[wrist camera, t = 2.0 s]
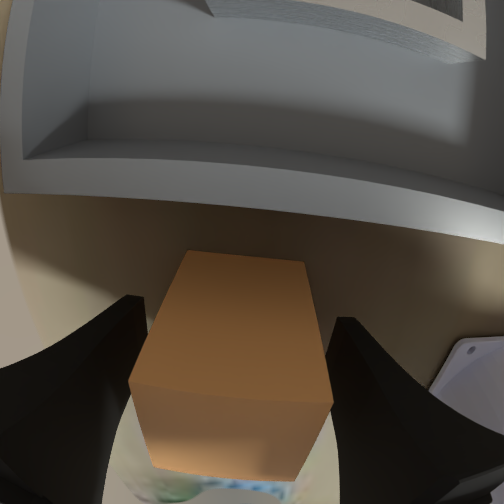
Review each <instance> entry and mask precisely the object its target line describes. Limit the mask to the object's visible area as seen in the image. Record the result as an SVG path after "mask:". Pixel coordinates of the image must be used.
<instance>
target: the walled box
mask: <svg viewBox="0 0 504 504" xmlns="http://www.w3.org/2000/svg"><path fill="white" fill-rule="evenodd" d="M412 1H414V2H417V3H420V4H422V5H425V6H428V7H429V0H412ZM485 9H486V60H481V61H471V62H462V63H453V64H447V63H444V62H442V61H439V60H437V59H434V58H431V57H429V56H426V55H423V54H420V53H417V52H414V51H411V50H408V49H405V48H402V47H399V46H396V45H392V44H389V43H385V42H382V41H378V40H375V39H371V38H367V37H363V36H359V35H355V34H350V33H346V32H341V31H336V30H331V29H326V28H320V27H315V26H309V25H302V24H295V23H288V22H279V21H270V20H259V19H245V18H224V17H214V15H213V14H212V12H211V10H210V8H209V7H208V5H207V3H206V1H205V0H13V2H12V7H11V12H10V17H9V22H8V28H7V34H6V40H5V48H4V56H3V65H2V77H1V93H0V148H1V165H2V177H3V187H4V193H21V194H57V195H82V196H102V197H120V198H137V199H152V200H166V201H179V202H191V203H203V204H215V205H226V206H236V207H246V208H256V209H266V210H275V211H284V212H293V213H302V214H310V215H319V216H327V217H335V218H342V219H350V220H357V221H365V222H372V223H379V224H386V225H393V226H400V227H406V228H413V229H419V230H426V231H432V232H438V233H444V234H450V235H456V236H462V237H467V238H473V239H479V240H484V241H489V242H495V243H500V244H504V0H485Z"/></svg>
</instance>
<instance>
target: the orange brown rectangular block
mask: <svg viewBox="0 0 504 504" xmlns="http://www.w3.org/2000/svg"><path fill="white" fill-rule="evenodd" d="M128 383H129V387H130V391H131V395H132V398H133V402H134V406H135V409H136V413H137V417H138V420H139V423H140V427H141V430H142V433H143V436H144V440H145V443H146V446H147V449H148V452H149V455H150V458H151V461H152V464H153V466H154V467H156V468H161V469H166V470H172V471H177V472H183V473H190V474H196V475H203V476H211V477H220V478H230V479H242V480H258V481H295V479H296V477H297V476H298V474H299V472H300V470H301V468H302V466H303V464H304V463H305V461H306V459H307V457H308V455H309V453H310V451H311V449H312V447H313V445H314V443H315V441H316V439H317V437H318V435H319V433H320V431H321V429H322V427H323V425H324V422H325V420H326V418H327V416H328V414H329V412H330V410H331V407H332V405H333V403H334V401H333V395H332V390H331V385H330V380H329V375H328V369H327V364H326V359H325V355H324V350H323V345H322V340H321V335H320V331H319V326H318V321H317V317H316V312H315V308H314V303H313V299H312V294H311V290H310V286H309V281H308V277H307V273H306V268H305V264H304V262H302V261H292V260H282V259H272V258H262V257H252V256H242V255H232V254H222V253H212V252H203V251H193V250H187V252H186V254H185V256H184V258H183V260H182V262H181V264H180V266H179V268H178V271H177V273H176V275H175V277H174V279H173V281H172V283H171V285H170V287H169V290H168V292H167V294H166V296H165V298H164V300H163V302H162V305H161V307H160V309H159V311H158V313H157V316H156V318H155V320H154V322H153V324H152V327H151V329H150V331H149V333H148V336H147V338H146V340H145V342H144V345H143V347H142V349H141V352H140V354H139V356H138V359H137V361H136V363H135V366H134V368H133V370H132V373H131V375H130V377H129V380H128Z"/></svg>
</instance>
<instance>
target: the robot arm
mask: <svg viewBox="0 0 504 504" xmlns="http://www.w3.org/2000/svg"><path fill="white" fill-rule="evenodd" d="M147 336H148V332H147V323H146V314H145V305H144V297H141V296H134V295H126V296H124V297H122V298H121V299H120V300H118V301H117V302H115V303H114V304H113V305H111V306H110V307H109V308H107V309H106V310H104V311H103V312H102V313H100V314H99V315H97V316H96V317H95V318H93V319H92V320H90V321H89V322H88V323H86V324H85V325H83V326H82V327H80V328H79V329H77V330H76V331H74V332H73V333H71V334H70V335H68V336H66V337H65V338H63V339H62V340H60V341H59V342H57V343H55V344H53V345H52V346H50V347H48V348H46V349H44V350H42V351H41V352H38V353H37V354H34V355H32V356H30V357H28V358H25V359H23V360H21V361H19V362H16V363H14V364H11V365H9V366H6V367H3V368H0V504H102V496H103V490H104V485H105V479H106V473H107V468H108V463H109V459H110V454H111V450H112V446H113V442H114V438H115V435H116V431H117V428H118V425H119V422H120V419H121V416H122V414H123V412H124V409H125V407H126V404H127V402H128V400H129V397H130V395H131V391H130V387H129V383H128V380H129V377H130V375H131V373H132V370H133V368H134V366H135V363H136V361H137V359H138V356H139V354H140V352H141V349H142V347H143V345H144V342H145V340H146V338H147ZM325 359H326V364H327V369H328V375H329V380H330V385H331V390H332V395H333V401H334V403H333V405H332V407H331V410H330V411H331V416H332V421H333V425H334V430H335V435H336V441H337V448H338V459H339V477H340V504H504V336H499V337H481V338H464V339H461V340H459V341H458V342H457V343H456V344H455V345H454V347H453V349H452V351H451V353H450V355H449V356H448V358H447V360H446V362H445V363H444V365H443V367H442V369H441V370H440V372H439V374H438V375H437V377H436V379H435V380H434V382H433V384H432V385H431V387H430V388H429V390H426V389H425V388H424V387H423V386H421V385H420V384H419V383H418V382H417V381H416V380H414V379H413V378H412V377H411V376H410V375H409V374H408V373H407V372H406V371H405V370H404V369H403V368H402V367H401V366H400V365H399V364H398V363H397V362H396V361H395V360H394V359H393V358H392V357H391V356H390V355H389V354H388V353H387V352H386V351H385V350H384V349H383V348H382V347H381V346H380V344H379V343H378V342H377V341H376V340H375V339H374V338H373V337H372V336H371V335H370V333H369V332H368V331H367V330H366V329H365V328H364V327H363V326H362V325H361V324H360V322H359V321H358V320H357V319H356V318H354V317H337V320H336V323H335V327H334V330H333V333H332V336H331V340H330V343H329V346H328V349H327V352H326V355H325Z"/></svg>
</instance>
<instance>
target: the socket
mask: <svg viewBox="0 0 504 504" xmlns="http://www.w3.org/2000/svg"><path fill="white" fill-rule="evenodd" d="M205 1H206V3H207V5H208V7H209V8H210V10H211V12H212V14H213V15H214V17H224V18H245V19H259V20H270V21H279V22H288V23H295V24H302V25H309V26H315V27H320V28H326V29H331V30H336V31H341V32H346V33H350V34H355V35H359V36H363V37H367V38H371V39H375V40H378V41H382V42H385V43H389V44H392V45H396V46H399V47H402V48H405V49H408V50H411V51H414V52H417V53H420V54H423V55H426V56H429V57H431V58H434V59H437V60H439V61H442V62H444V63H447V64H453V63H462V62H471V61H481V60H486V9H485V0H429V7H428V6H425V5H422V4H420V3H417V2H414V1H412V0H205Z"/></svg>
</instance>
